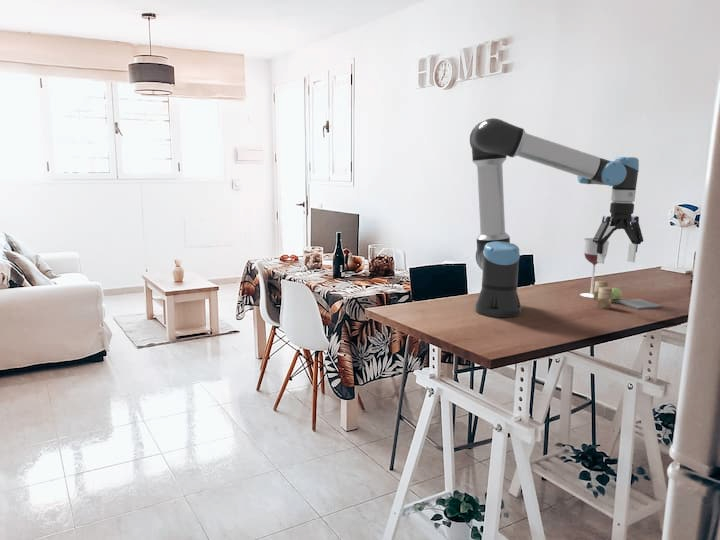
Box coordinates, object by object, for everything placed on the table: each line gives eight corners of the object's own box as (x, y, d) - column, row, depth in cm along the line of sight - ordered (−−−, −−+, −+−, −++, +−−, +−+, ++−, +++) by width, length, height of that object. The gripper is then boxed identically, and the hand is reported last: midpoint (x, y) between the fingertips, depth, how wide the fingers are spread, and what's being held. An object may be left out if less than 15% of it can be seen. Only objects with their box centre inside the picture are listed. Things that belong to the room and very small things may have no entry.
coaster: (637, 309, 199) (638, 307, 199) (614, 302, 210) (615, 300, 210) (662, 307, 203) (662, 305, 203) (638, 300, 213) (638, 298, 213)
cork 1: (599, 301, 210) (600, 283, 209) (590, 298, 214) (592, 281, 213) (608, 300, 212) (610, 282, 210) (600, 298, 216) (602, 280, 214)
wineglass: (598, 293, 224) (604, 238, 220) (606, 298, 215) (612, 241, 211) (576, 292, 225) (581, 237, 221) (583, 297, 216) (588, 240, 212)
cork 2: (603, 309, 199) (605, 289, 197) (594, 306, 203) (596, 287, 201) (613, 308, 200) (615, 289, 199) (604, 305, 204) (606, 286, 203)
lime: (614, 301, 211) (615, 289, 210) (605, 298, 215) (606, 286, 214) (623, 300, 212) (625, 288, 212) (614, 297, 217) (616, 286, 216)
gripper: (601, 202, 188) (594, 265, 192) (659, 203, 196) (651, 263, 200) (585, 201, 195) (579, 261, 199) (642, 201, 203) (635, 259, 207)
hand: (615, 262), depth 200 cm, fingers open, 13 cm apart
